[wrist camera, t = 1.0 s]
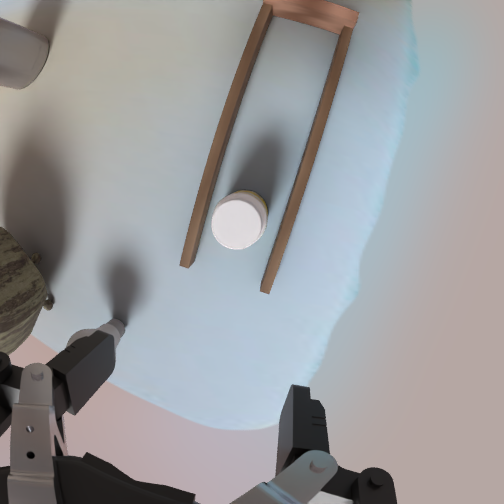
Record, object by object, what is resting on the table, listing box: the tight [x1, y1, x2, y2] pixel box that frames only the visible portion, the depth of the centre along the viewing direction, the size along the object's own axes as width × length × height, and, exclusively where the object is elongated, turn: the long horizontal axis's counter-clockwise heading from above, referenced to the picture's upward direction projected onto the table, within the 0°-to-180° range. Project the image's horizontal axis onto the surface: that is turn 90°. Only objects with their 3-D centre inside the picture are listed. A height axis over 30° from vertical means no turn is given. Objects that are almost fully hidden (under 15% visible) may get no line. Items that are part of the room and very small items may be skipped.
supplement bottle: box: [211, 190, 268, 249], centre depth 27 cm, size 5×5×8 cm
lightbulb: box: [66, 319, 125, 362], centre depth 31 cm, size 6×6×11 cm
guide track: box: [180, 0, 359, 294], centre depth 27 cm, size 10×32×4 cm, turn 163°
